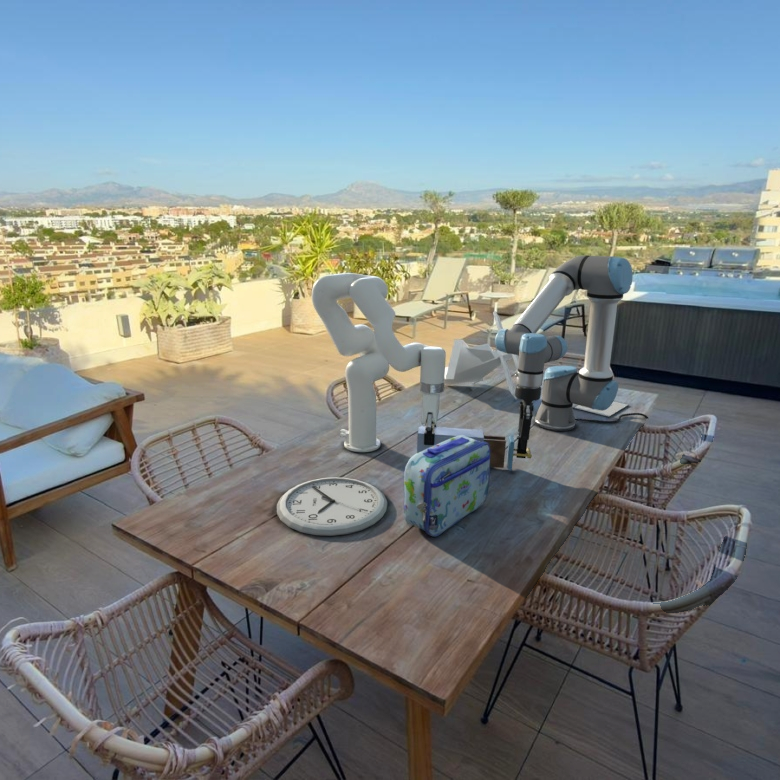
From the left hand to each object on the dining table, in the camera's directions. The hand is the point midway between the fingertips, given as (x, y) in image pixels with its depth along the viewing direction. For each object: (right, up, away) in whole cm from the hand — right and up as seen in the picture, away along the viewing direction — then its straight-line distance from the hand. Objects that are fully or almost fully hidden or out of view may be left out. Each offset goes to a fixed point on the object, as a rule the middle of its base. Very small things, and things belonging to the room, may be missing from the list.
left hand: (429, 439), depth 167 cm
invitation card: (+79, +9, +59) cm, 99 cm away
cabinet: (+6, -8, +2) cm, 10 cm away
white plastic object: (+29, +15, +76) cm, 83 cm away
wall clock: (-28, -16, -24) cm, 41 cm away
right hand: (+28, -5, -3) cm, 29 cm away
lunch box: (+2, -18, -29) cm, 35 cm away
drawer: (+19, -8, 0) cm, 21 cm away
